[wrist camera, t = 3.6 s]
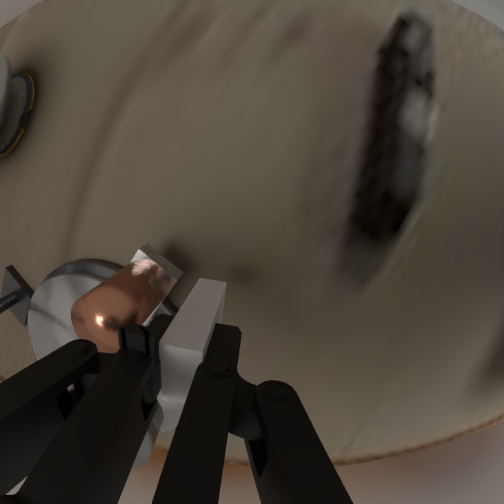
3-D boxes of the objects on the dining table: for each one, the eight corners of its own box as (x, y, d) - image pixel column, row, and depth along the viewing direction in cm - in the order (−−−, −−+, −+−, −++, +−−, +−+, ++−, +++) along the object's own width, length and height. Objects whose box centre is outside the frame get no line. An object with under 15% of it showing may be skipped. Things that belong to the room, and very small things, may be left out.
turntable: (273, 330, 19) (278, 418, 11) (145, 445, 24) (123, 499, 16) (84, 179, 17) (-3, 185, 9) (25, 350, 22) (-17, 387, 13)
